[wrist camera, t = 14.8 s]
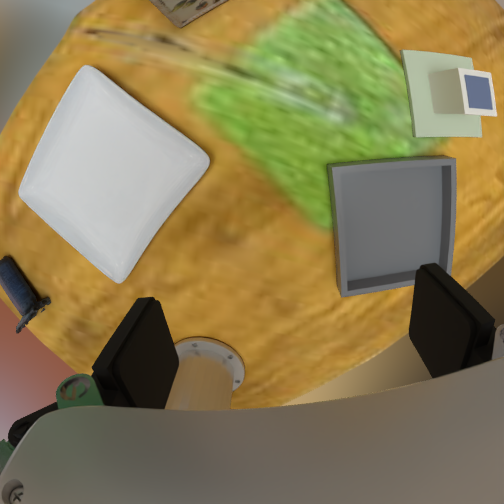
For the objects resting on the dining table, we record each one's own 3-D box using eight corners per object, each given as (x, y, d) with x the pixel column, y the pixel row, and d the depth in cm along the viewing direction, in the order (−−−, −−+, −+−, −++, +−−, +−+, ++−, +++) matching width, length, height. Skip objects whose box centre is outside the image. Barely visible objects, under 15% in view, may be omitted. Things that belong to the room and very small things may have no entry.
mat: (478, 136, 31) (482, 137, 30) (413, 136, 32) (416, 137, 31) (468, 58, 26) (471, 58, 26) (400, 50, 28) (402, 49, 27)
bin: (440, 268, 38) (450, 277, 36) (337, 285, 40) (341, 297, 37) (443, 155, 32) (455, 158, 29) (326, 164, 34) (331, 167, 31)
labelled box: (464, 114, 29) (497, 116, 22) (433, 113, 30) (465, 114, 23) (458, 77, 27) (491, 72, 21) (427, 74, 28) (458, 67, 21)
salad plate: (219, 156, 35) (214, 159, 32) (128, 277, 42) (119, 288, 39) (96, 63, 30) (83, 60, 27) (30, 189, 37) (15, 195, 34)
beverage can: (57, 297, 46) (19, 244, 43) (36, 315, 38) (-7, 255, 35) (34, 322, 46) (-2, 273, 44) (14, 340, 39) (-25, 286, 36)
